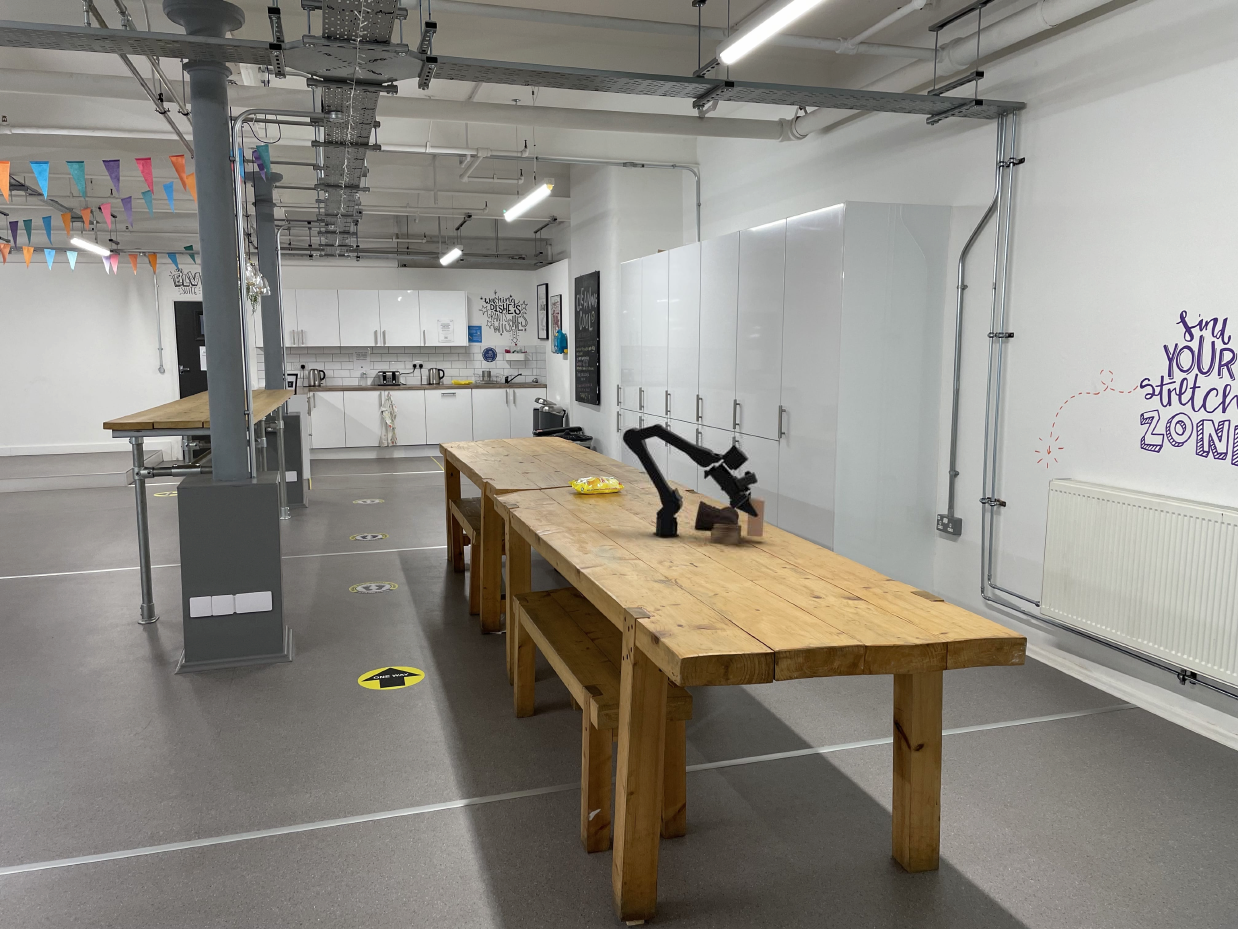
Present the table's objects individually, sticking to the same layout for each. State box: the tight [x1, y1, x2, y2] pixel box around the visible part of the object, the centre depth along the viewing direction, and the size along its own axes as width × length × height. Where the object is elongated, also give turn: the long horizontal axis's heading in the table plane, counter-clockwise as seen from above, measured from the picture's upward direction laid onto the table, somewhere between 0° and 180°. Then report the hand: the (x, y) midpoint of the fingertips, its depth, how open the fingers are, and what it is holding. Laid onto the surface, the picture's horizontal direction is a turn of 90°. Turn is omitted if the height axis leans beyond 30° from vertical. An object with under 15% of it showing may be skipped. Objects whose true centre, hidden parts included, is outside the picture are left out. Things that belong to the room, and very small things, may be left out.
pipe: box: [694, 500, 740, 530], centre depth 305 cm, size 10×15×15 cm
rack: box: [709, 524, 742, 546], centre depth 285 cm, size 9×13×4 cm
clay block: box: [746, 497, 766, 538], centre depth 282 cm, size 5×4×12 cm
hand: (757, 515), depth 282 cm, fingers closed on clay block, 4 cm apart
